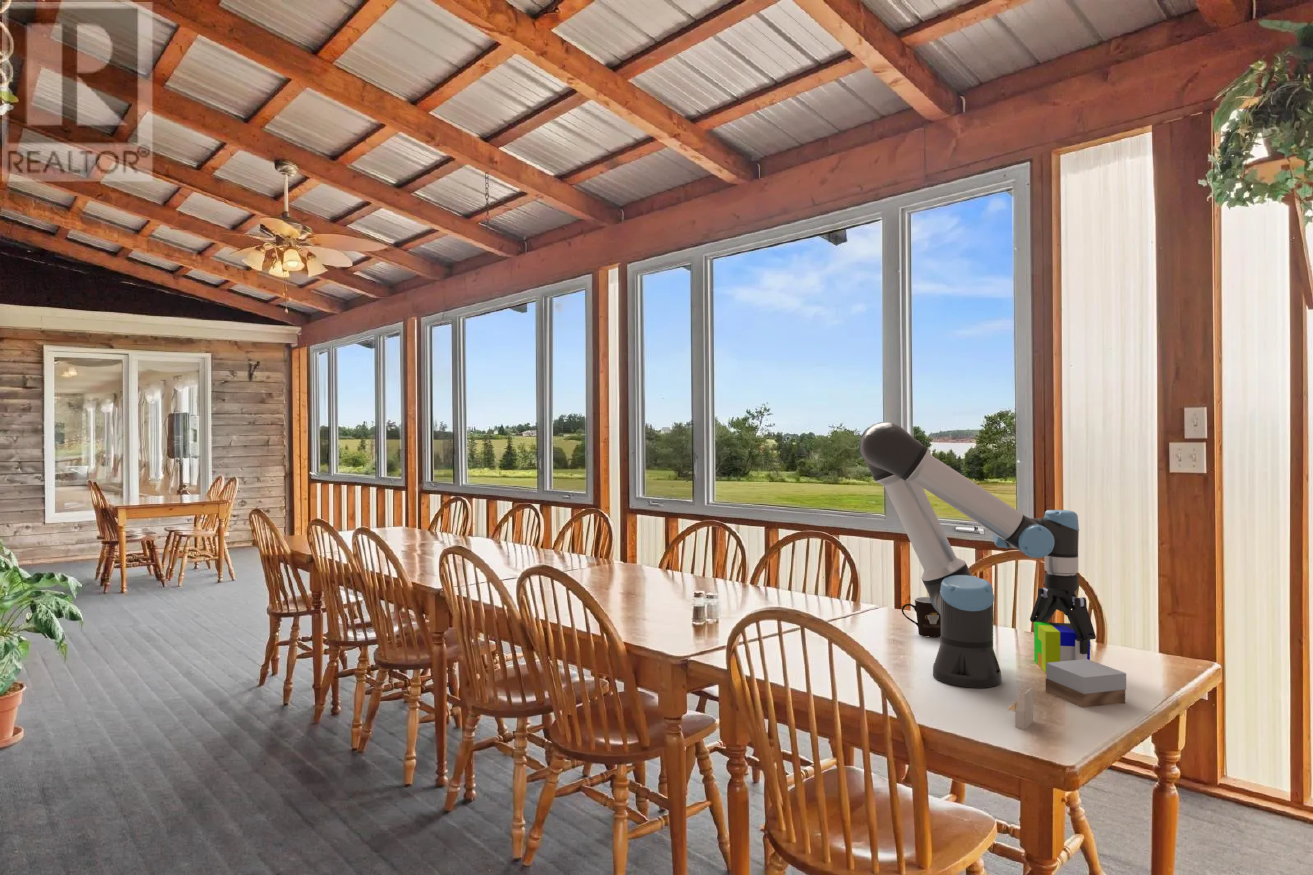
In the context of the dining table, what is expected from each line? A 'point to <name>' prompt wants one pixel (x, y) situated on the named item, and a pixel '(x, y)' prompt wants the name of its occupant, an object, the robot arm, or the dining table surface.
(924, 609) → the coffee mug
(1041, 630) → the puzzle toy
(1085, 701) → the walnut block
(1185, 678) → the dining table surface
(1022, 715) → the architectural model
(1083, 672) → the slate-grey block
